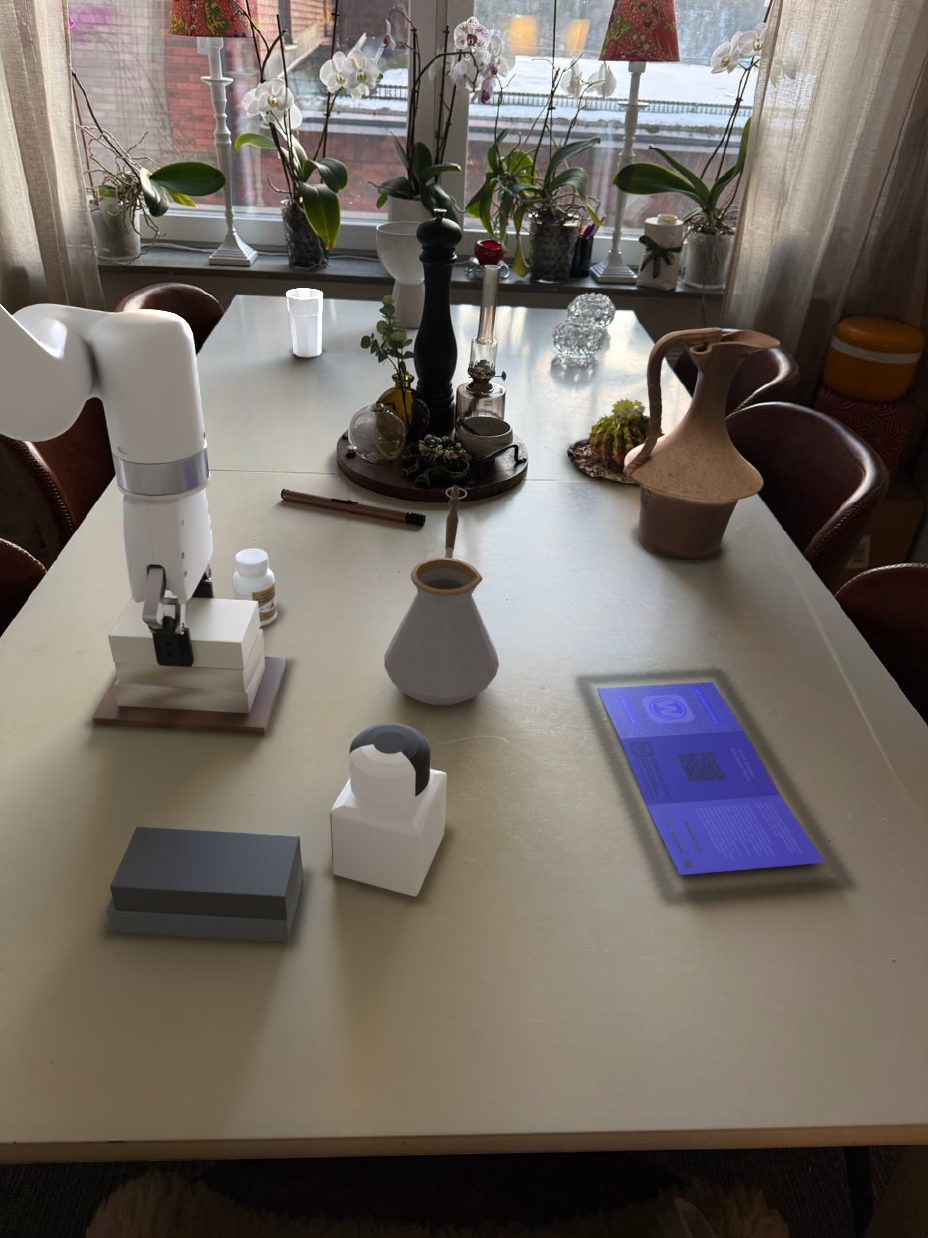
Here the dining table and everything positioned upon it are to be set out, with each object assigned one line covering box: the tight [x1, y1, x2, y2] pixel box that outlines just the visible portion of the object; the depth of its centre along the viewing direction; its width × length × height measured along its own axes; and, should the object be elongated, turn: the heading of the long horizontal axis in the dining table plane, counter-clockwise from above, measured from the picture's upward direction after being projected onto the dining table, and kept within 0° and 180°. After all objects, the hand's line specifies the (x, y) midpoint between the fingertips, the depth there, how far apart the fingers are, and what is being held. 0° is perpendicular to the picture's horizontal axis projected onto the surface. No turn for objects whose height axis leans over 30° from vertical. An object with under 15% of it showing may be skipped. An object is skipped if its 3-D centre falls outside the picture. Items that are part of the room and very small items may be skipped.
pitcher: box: [623, 327, 781, 562], centre depth 115 cm, size 18×17×28 cm
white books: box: [92, 628, 288, 735], centre depth 90 cm, size 16×11×6 cm
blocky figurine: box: [329, 722, 448, 897], centre depth 73 cm, size 7×7×12 cm
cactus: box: [566, 397, 666, 484], centre depth 140 cm, size 17×16×10 cm
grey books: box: [106, 826, 304, 943], centre depth 70 cm, size 13×6×5 cm, turn 88°
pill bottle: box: [232, 548, 278, 627], centre depth 101 cm, size 4×4×8 cm
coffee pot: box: [383, 484, 500, 706], centre depth 95 cm, size 21×12×15 cm, turn 177°
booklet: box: [596, 681, 826, 876], centre depth 86 cm, size 12×25×1 cm, turn 8°
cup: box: [285, 288, 324, 358], centre depth 175 cm, size 7×7×11 cm
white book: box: [107, 595, 261, 669], centre depth 88 cm, size 12×7×3 cm, turn 88°
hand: (187, 638), depth 88 cm, fingers closed on white book, 7 cm apart
